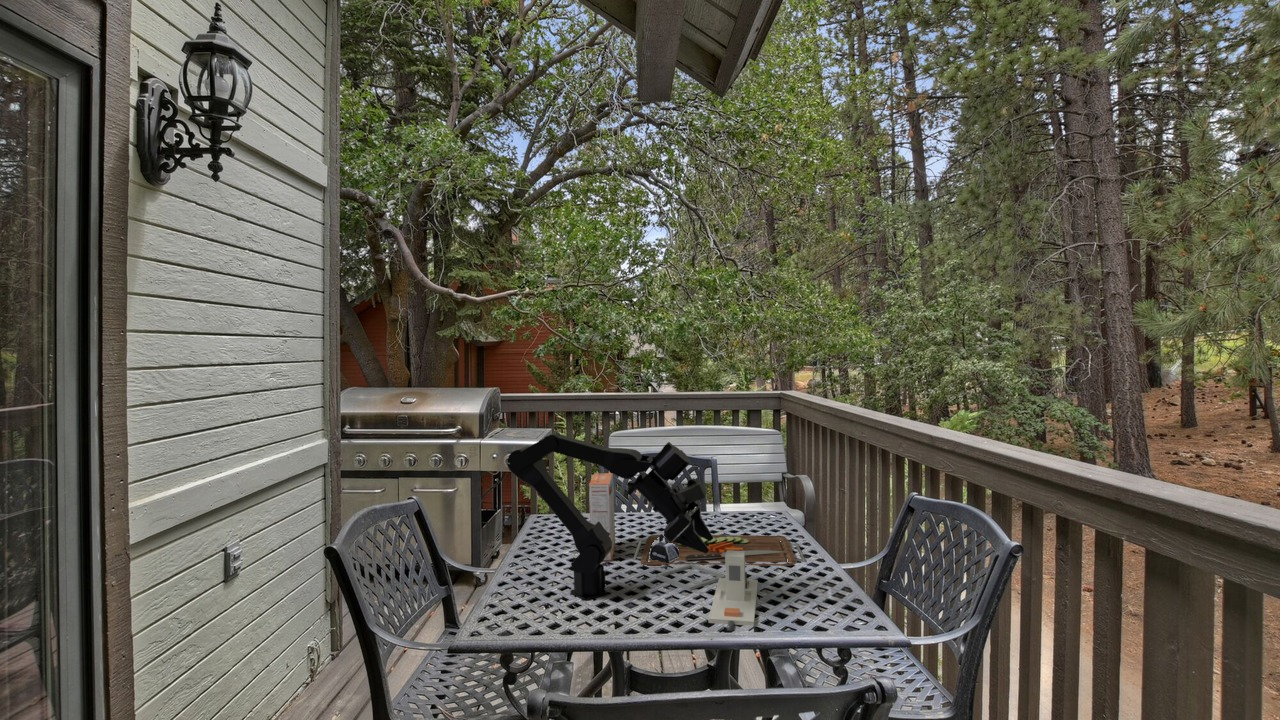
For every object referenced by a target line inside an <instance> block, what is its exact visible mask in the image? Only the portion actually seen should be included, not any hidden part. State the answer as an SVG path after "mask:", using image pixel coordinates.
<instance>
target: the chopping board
mask: <svg viewBox="0 0 1280 720" xmlns="http://www.w3.org/2000/svg"><path fill="white" fill-rule="evenodd" d="M660 535H661V534H652V535H649V536H648V537H647V538H646V541H645V542H644V541H642V540H639V541H638V544H637V547H636V549H635V553H634V554H633V555H634V556H633V558H632V561H636V560H640V564H641V565H642V564H643V566H644V565H647V566H661V567H662V565H688V564H694V565H699V566H700V565H707V566H708V565H709V566H711V565H713V566H714V565H715V566H717V565H718V566H720V565H721V566H725V555H726V551H727V550H734V551H745V566H766V567H767V566H773V567H774V566H778V567H779V566H780V567H781V566H782V567H789V566H793V565H796V564H797V563H798V562H802V561H803V562H806V563H807V561H806V558H805V557H804V554H803V552H802V550H801V548H800V546H799V543H798V542H794V543H790V542H789V540H788V538H787V537H784V536H781V535H751V534H750V535H749V534H748V535H746V534H745V535H743V534H742V535H740V534H739V535H738V534H737V535H735V534H734V535H733V534H732V535H731V534H725V535H724V534H712V536H713V539H712V540H711V541H709V540H707V539H705V538H703V537H701V536H700V538H701V539H702V540H703V542H704V543H705V544H706V546H707V547H708V549H709V551H708V552H707V553H703V552H700V551H698V550H695V549H693V548H690V547H688V546H685V545H682V544H679V543H674V542H673V540H674V539H675V538H674V539H673V540H672V541H671V542H670V541H669V540H668V539H667V540H668V542H669V543H673V544H675V545H676V546H677V547H678V549H679V558H678V559H677V560H675V561H674V562H672V561H668V562H669V563H666V562H665V561H664V562H658V560H652V559H651V561H650V562H648V559H649V552H650V547H651V545H652V543H653V542H654V540H655V539H656V540H657V538H658V536H660ZM676 537H677V536H676ZM780 541H781V542H780ZM642 545H644V549H643V551H642V555H641V556H638V554H639V552H640V549H641V546H642ZM790 545H795V546H794V547H795V548H796V550H797V552H799V553H798V555H799V554H800V555H799V557H800V559H799V558H798V559H797V558H796V556H795V554H794V551H793V549H792V546H790ZM636 558H638V559H636ZM787 559H788V562H787ZM677 561H678V562H677ZM717 562H718V563H717ZM719 562H721V563H719ZM803 562H802V563H803ZM647 566H646V567H647Z"/></svg>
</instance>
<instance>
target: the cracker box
mask: <svg viewBox="0 0 1280 720" xmlns="http://www.w3.org/2000/svg"><path fill="white" fill-rule="evenodd" d="M614 483H615V482H614V474H613V473H611V472H608V473H606V472H605V473H603V472H602V473H601V472H600V473H593V475H592V478H591V480H590V481H589V483H588V490H589V491H588V492H589V493H588V496H589V497H588V498H589V522H590V523H592V524H594V525H595V524H596V523H597V522H600V523H601V524H602V526H603V528H604V529H605V530H606V531H607V532H608V533H610V535H609V537H610V539H611V541H612V549H611V551H610V553H609V554H608V555H607V556H606V557H605V559H604V560H603V562H611V561H613V557H614V553H615V547H616V530H615V528H616V527H615V526H616V525H615V522H616V521H615V494H614V493H615V492H614V491H615V490H614V489H615V488H614V487H615V486H614V485H615V484H614Z"/></svg>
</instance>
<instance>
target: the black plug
mask: <svg viewBox="0 0 1280 720" xmlns="http://www.w3.org/2000/svg"><path fill="white" fill-rule="evenodd" d="M747 579H748V572H747V571H745V589H746V588H747Z"/></svg>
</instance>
